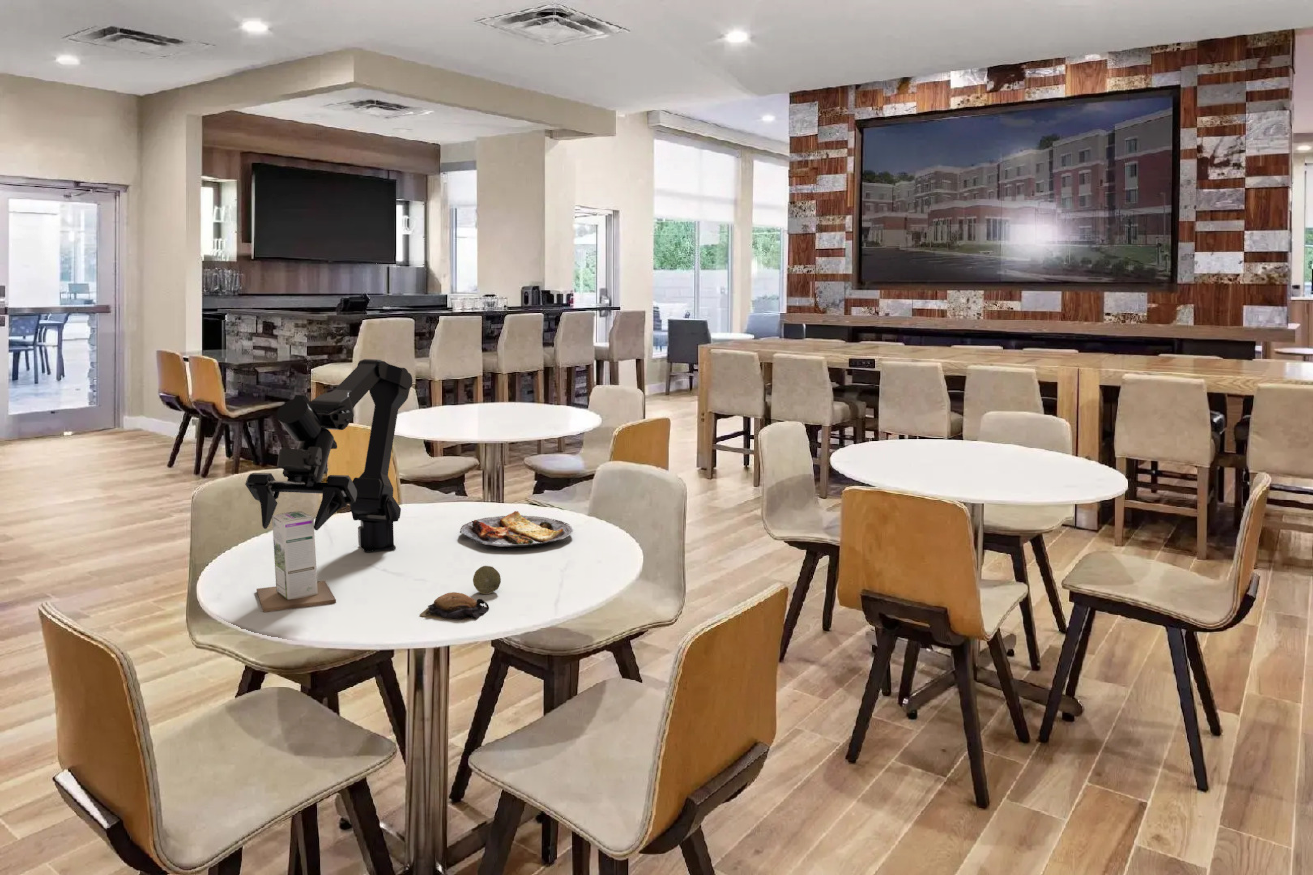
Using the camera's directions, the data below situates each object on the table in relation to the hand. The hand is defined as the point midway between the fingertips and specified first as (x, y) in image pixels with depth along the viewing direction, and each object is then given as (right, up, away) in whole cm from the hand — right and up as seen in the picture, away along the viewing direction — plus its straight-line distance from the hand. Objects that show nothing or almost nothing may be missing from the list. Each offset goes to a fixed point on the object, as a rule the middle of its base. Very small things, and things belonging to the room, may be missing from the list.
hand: (289, 528), depth 174 cm
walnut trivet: (0, -13, +3) cm, 13 cm away
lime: (+33, -13, +8) cm, 37 cm away
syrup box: (0, -12, +3) cm, 13 cm away
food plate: (+33, -7, +47) cm, 58 cm away
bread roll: (+30, -15, -3) cm, 33 cm away
